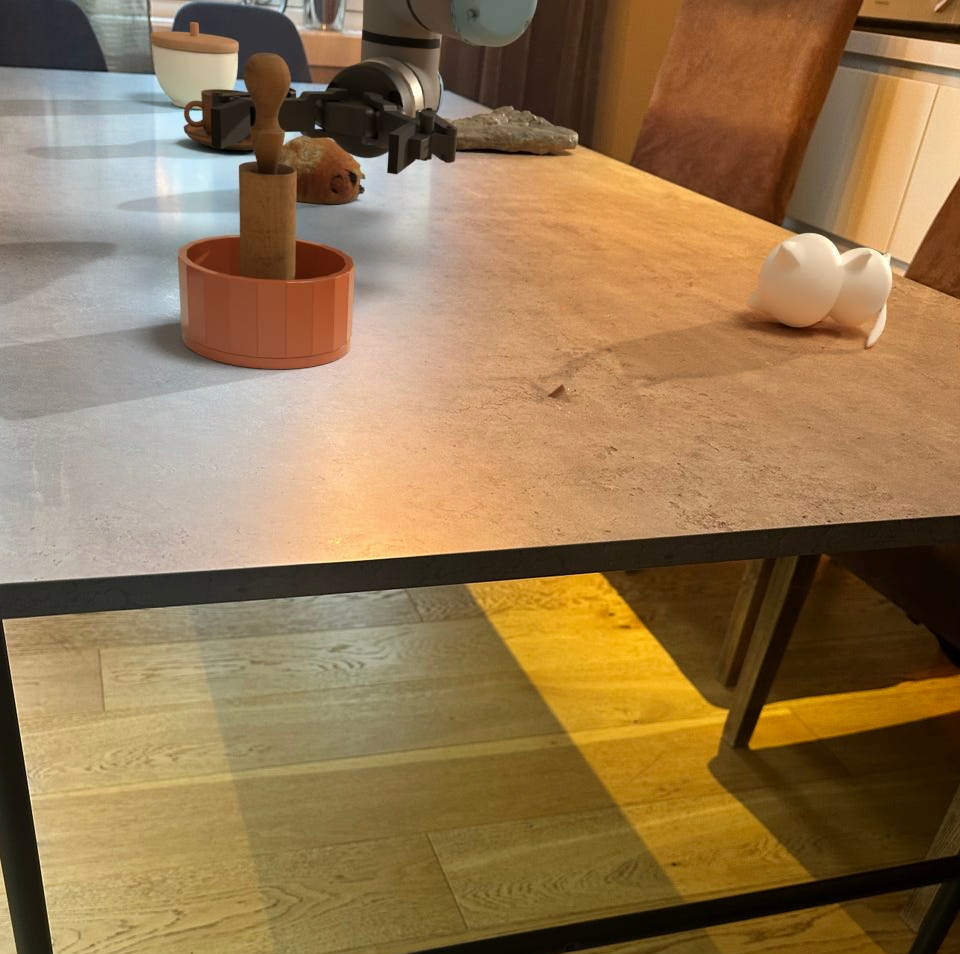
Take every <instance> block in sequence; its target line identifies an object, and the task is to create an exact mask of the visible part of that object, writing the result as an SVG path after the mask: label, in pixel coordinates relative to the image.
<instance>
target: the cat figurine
mask: <svg viewBox="0 0 960 954" xmlns="http://www.w3.org/2000/svg"><path fill="white" fill-rule="evenodd" d="M890 263H891V252H887V253H884V254H883V255H882V254H881V252H879V251H877V250H875V249H873V248H870V247H857V248H853V249H850V250H847V251H845V252H843V253H841V254H840V252H839V250H838V248H837V247H836V245H835V244H834V243H833V242H832V241H831V240H830V239H829V238H827V237H826V236H825V235H821V234H818V233H814V232H813V233H812V232H805V233H800V234H797V235H793V236H791V237H789V238H787V239H785V240H784V241H782V242H780V243H778V244H777V246H776V247H774V249H772V250H771V252H770V253H769V254H768V255H767V257H766V258H765V259H764V261H763V263H762V265H761V267H760V269H759V270H760V271H759V274H758V278H757V279H758V280H757V286H756V288H755V289H754V291H753V292H752V293H751V295H750V296H749V297H748V299H747V300H746V306H747V307H748V308H749V309H752V310H755V311H758V312H763V313H765V314H766V313H767V314H769V315H771V316H772V317H773V318H774V319H775V320H777V321H778V322H779V323H781V324H783V325H785V326H788V327H791V328H806V327H810V326H812V325H814V324H816V323H818V322H820V321H827V319H828V318H830V319H832V320H833V321H834V322H836V323H838V324H839V325H842V326H845V327H848V328H849V327H858V326H861V325H863V324H866V323H867V322H869V321H870V320H872V319H873V318H874V317H875V316H877V314H878V316H877V318H876V321H875V322H874V325H873V327H872V329H871V331H870V333H869V336H868V338H867V340H866V344H865V347H866V346H867V347H870V346H871V347H872V346H873V345H874V344H875V343H876V342H877V341H878V339H879V337H880V336H881V335H882V333H883V330H884V328H885V326H886V320H887V300H888V298H889V297H890V294H891V291H892V287H893V285H892V284H893V273H892V269H891V266H890ZM821 319H822V320H821ZM867 347H866V348H867ZM871 347H870V348H871Z"/></svg>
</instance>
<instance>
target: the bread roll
mask: <svg viewBox="0 0 960 954" xmlns="http://www.w3.org/2000/svg"><path fill="white" fill-rule="evenodd" d="M279 164H284V165H287V166H290V167H293V168H294V169H296V171H297V185H296V202H301V203H302V202H303V203H309V204H319V205H343V204H347V203H351V202H353V201H356V200H357V199H358V198H359V195H363V194H364V193H365V189H366V188H365V187H364V186H362V184H361V180H366V178H367V177H366V174H365V173H363V172H362V170H361V166H362V165H361V163H360V162H358V161H357V160H356V159H355V158H354V156H353V155H351V154H349V153H347V152H346V151H344V150H343V149H342V148H341V147H339V146H338V145H337V143H336V142H335V141H334V140H333V139H330V138H310V137H307V136H304V135H302V134H301V135H299V136H297V137H294V138H292V139H290V140H289V141H287V142H285V143H283V147H282V151H281V155H280V159H279Z"/></svg>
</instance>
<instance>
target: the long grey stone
mask: <svg viewBox="0 0 960 954" xmlns="http://www.w3.org/2000/svg"><path fill="white" fill-rule="evenodd" d="M442 118H443V117H442ZM443 119H444V120H446V121H447V122H449V123H450V124H452V125H453V126H455V127H456V128H458V132H457V144H456V150H461V151H462V150H463V151H464V150H465V151H466V150H469V151H470V150H479V149H482V150H488V149H492V150H497V151H502V152H509V153H517V152H520V151H521V152H529V153H532V154H536V155H537V154H538V155H539V156H543V155H544V154H548V153H549V152H558V151H559V152H563V151H566V150H568V151H570V150H576V148H577V146H578V144H579V134H578V133H577V131H574V130H573V129H571V128H567V127H564V126H558V125H554V124H552V123H551V122H549V120H547V119H545V118H544V117H541V116H538V115H537V116H536V115H535V114H533V113H532V112H531V111H530V110H523V111H520V110H516V109H514V107H513V105H509V106H508V105H506V106H501V107H498V108H495V109H493V110H492V111H491V112H490V113H478V114H474V115H472V116H471V117H469V116H466V117H463V118H460V117H459V118H457V119H453V120H451V119H450V118H448V117H444V118H443Z"/></svg>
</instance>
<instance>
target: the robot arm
mask: <svg viewBox="0 0 960 954" xmlns="http://www.w3.org/2000/svg"><path fill="white" fill-rule="evenodd" d="M537 4H538V0H362V29H361V43H360V45H361V46H360V62H358V63H354V64H351V65H349V66H346V67H344V68H342V69H341V70H339V71H338V72H337V73H336V74H335V75H334V76H333V78H331V80H330V81H329V83H328V84H327V86H326V89H325V90H304V91H302V92H301V93H300V95H299V96H298V97H297V90H296V89H295V88H293V87H290V89H289V91H288V93H287V95H286V97H285V99H284V101H283V103H282V105H281V107H280V109H279V113H278V123H279V126H280V128H281V129H283V130H284V131H285V133H300V134H301V136H302V135H304V136H307V137H310V138H329V139H330V140H332V141H334V142H336V143H337V145H338V146H339V147H341V148H342V149H343V150H344V151H346V152H347V153H349V154H350V155H351V156H353V157H357V158H360V159H375V158H378V157H381V156H383V155H386V154H387V166H386V167H387V169H386V173H387V174H390V175H398V174H399V173H401V172H402V171H404V170H405V169H406V168H407V167H409V166H410V165H412V164H413V163H414V162H416V160H417V161H423V162H426V161H431V160H432V158H433V155H434V157H436V158H437V159H438V160H440V161H441V162H444V163H445V164H451V163H455V162H456V153H457V149H456V144H457V132H458V128H456V127H455V126H453V125H452V124H450V123H449V122H447V121H446V120H444V119H443V117H442V116H440V115H438V113H439V112H440V109H441V106H442V104H443V100H444V83H443V79H442V75H441V73H440V71H439V63H440V61H439V60H440V49H441V38H442V36H445V37H448V38H452V39H454V40H458V41H461V42H464V43H465V44H467V45H470V46H472V47H481V46H483V47H484V46H485V47H491V48H501V47H504V46H507V45H510V44H512V43H513V42H515V41H516V40H517V39H519V38H520V37H521V36H522V35H523V34H524V33H525V31H526V30H527V29H528V27H529V25H530V24H531V22H532V21H533V18H534V14H535V12H536V9H537ZM255 120H256V108H255V105H254V103H253V101H252V99H251V97H250V95H249V93H248V91H244V92H233V93H221V92H215V93H212V94H211V140H212V147H211V149H218V150H224V149H223V148H225V147H228V146H230V145H232V144H235V143H242V140H244V139H247V138H249V137H250V128H251V127H253V126H254V124H255ZM316 126H317V127H318V128H316Z"/></svg>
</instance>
